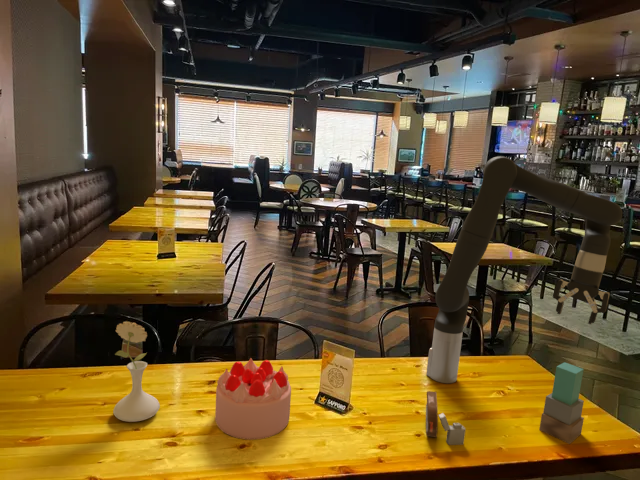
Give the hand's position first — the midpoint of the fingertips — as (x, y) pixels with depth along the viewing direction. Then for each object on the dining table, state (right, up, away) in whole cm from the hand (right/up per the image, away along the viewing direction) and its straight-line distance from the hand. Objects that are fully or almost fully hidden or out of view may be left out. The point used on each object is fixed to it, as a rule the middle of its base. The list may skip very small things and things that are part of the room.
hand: (574, 318), depth 140 cm
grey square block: (-10, -25, -12) cm, 29 cm away
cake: (-95, -24, -16) cm, 99 cm away
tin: (-47, -27, -14) cm, 56 cm away
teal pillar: (-10, -20, -13) cm, 26 cm away
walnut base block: (-10, -29, -12) cm, 33 cm away
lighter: (-43, -29, -20) cm, 56 cm away
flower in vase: (-126, -22, -17) cm, 129 cm away
